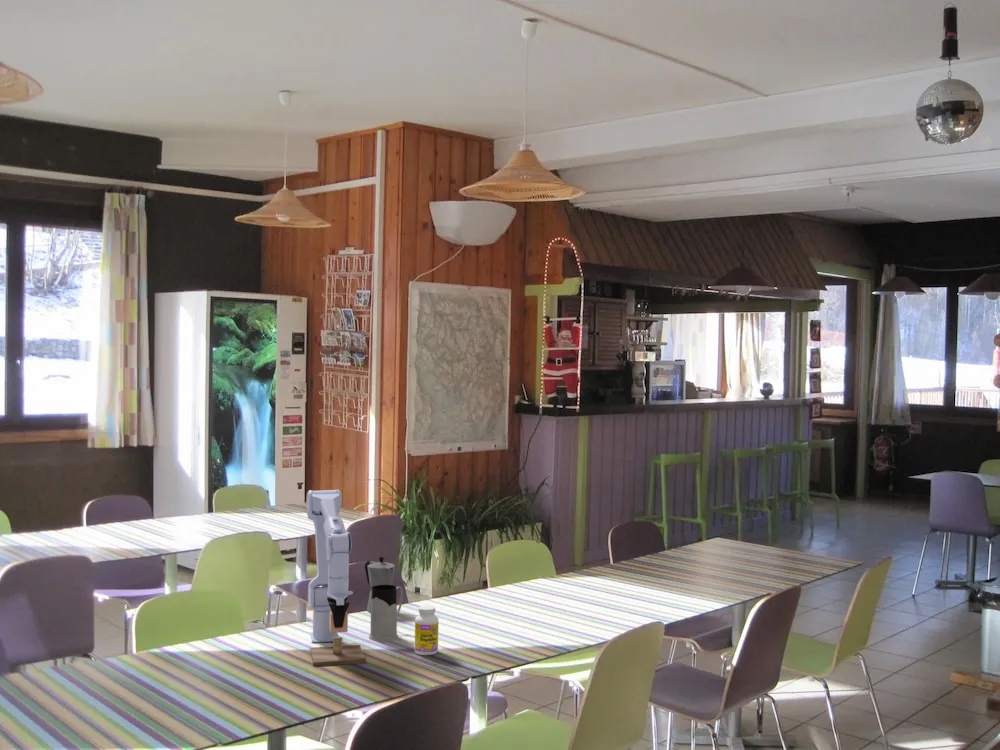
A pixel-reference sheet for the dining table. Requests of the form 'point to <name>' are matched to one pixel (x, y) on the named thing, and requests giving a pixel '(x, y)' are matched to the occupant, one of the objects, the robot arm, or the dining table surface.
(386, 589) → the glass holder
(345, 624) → the peach tilted cube
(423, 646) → the supplement bottle
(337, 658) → the post base
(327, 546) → the robot arm
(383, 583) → the coffeepot
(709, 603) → the dining table surface
